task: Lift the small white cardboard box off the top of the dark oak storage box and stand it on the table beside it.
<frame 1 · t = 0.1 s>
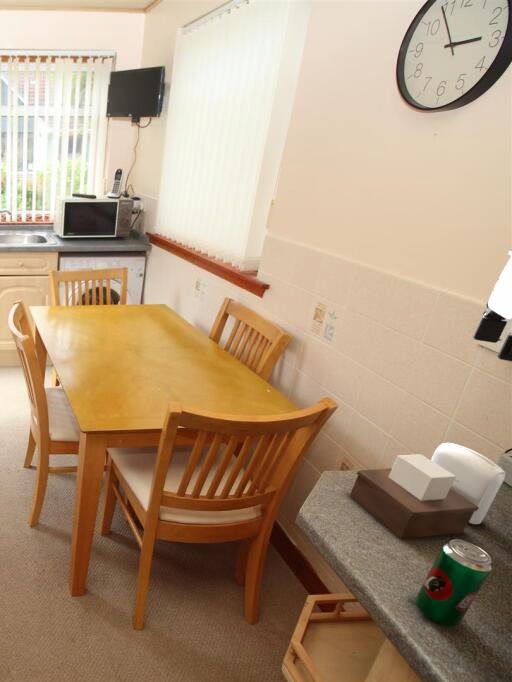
hand: (496, 350, 80), 32 cm above the countertop, tool pointing down, fingers open, 9 cm apart
soda can: (435, 614, 69), on the countertop
white box: (415, 487, 87), point 6 cm above the countertop, touching storage box
storage box: (403, 513, 89), on the countertop, touching white box
photo printer: (447, 506, 92), on the countertop
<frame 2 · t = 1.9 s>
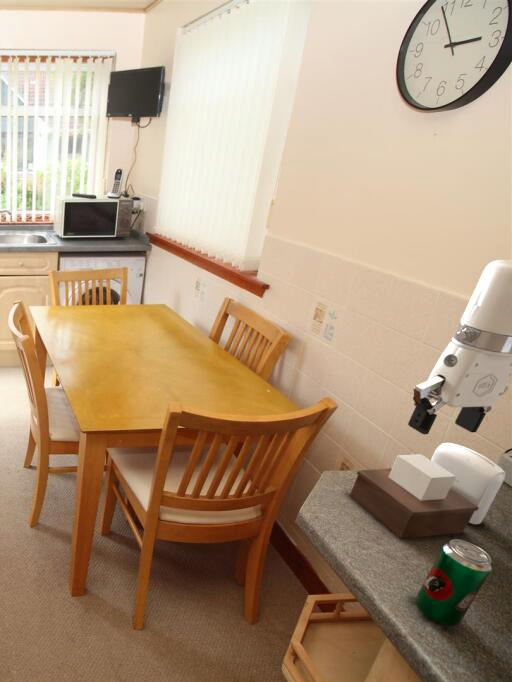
hand: (441, 429, 82), 18 cm above the countertop, tool pointing down, fingers open, 9 cm apart
nothing on the countertop moved.
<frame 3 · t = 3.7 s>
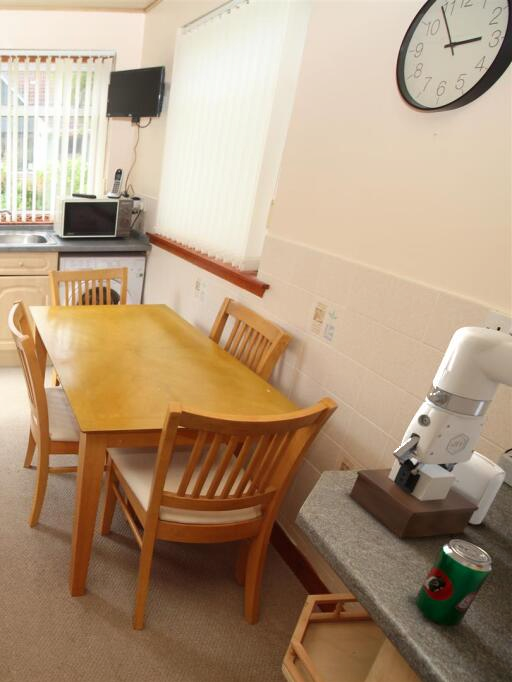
hand: (416, 485, 86), 6 cm above the countertop, tool pointing down, fingers closed on white box, 5 cm apart
white box: (415, 487, 87), point 6 cm above the countertop, touching gripper, storage box
everything else where it was.
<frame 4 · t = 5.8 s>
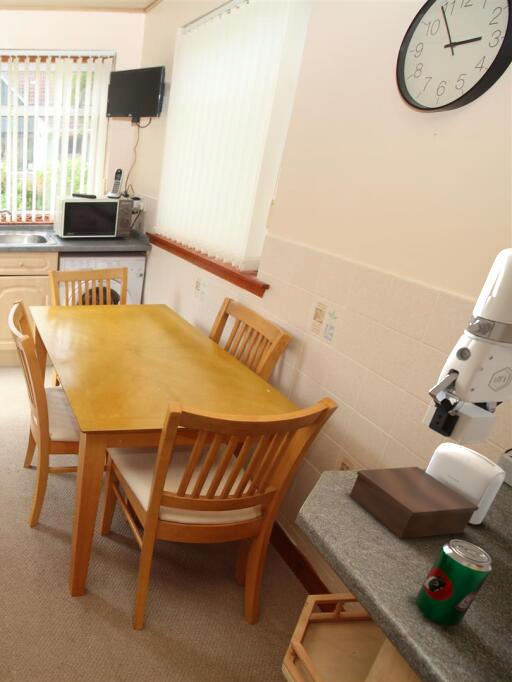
hand: (454, 430, 79), 20 cm above the countertop, tool pointing down, fingers closed on white box, 5 cm apart
white box: (452, 432, 79), point 19 cm above the countertop, touching gripper
storage box: (403, 513, 89), on the countertop
everything else where it was.
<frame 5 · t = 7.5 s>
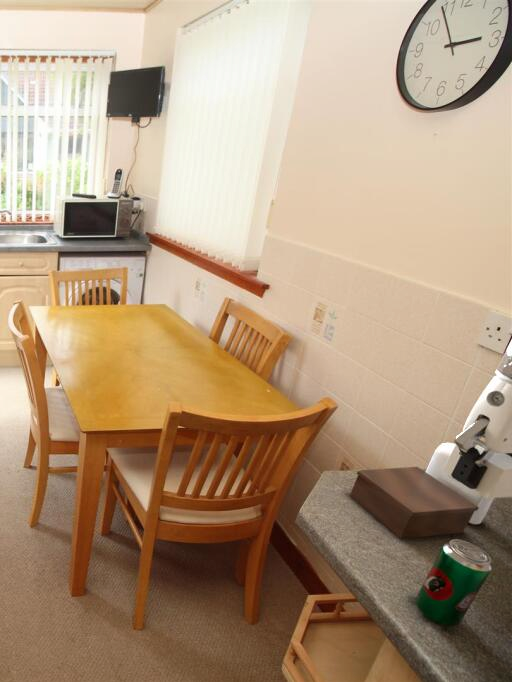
hand: (479, 480, 70), 18 cm above the countertop, tool pointing down, fingers closed on white box, 5 cm apart
white box: (478, 482, 71), point 17 cm above the countertop, touching gripper
everything else where it was.
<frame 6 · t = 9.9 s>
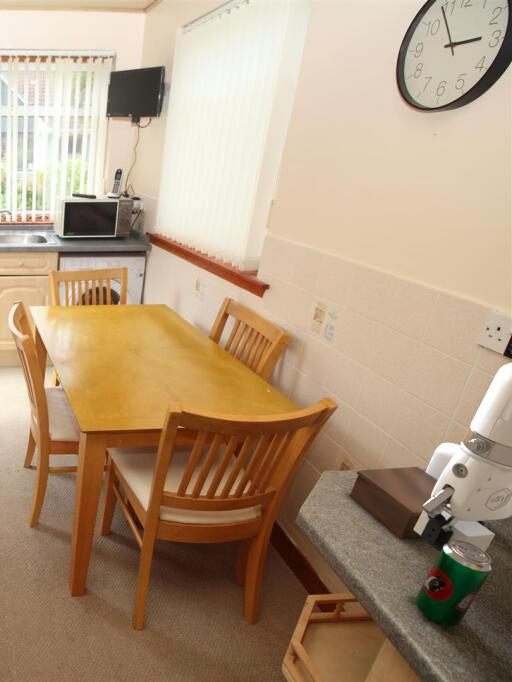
hand: (447, 542, 75), 6 cm above the countertop, tool pointing down, fingers closed on white box, 5 cm apart
white box: (445, 544, 75), point 5 cm above the countertop, touching gripper
everything else where it was.
when the fingers open (0 cm above the countertop, at t = 11.6 s): white box stays where it is, on the countertop.
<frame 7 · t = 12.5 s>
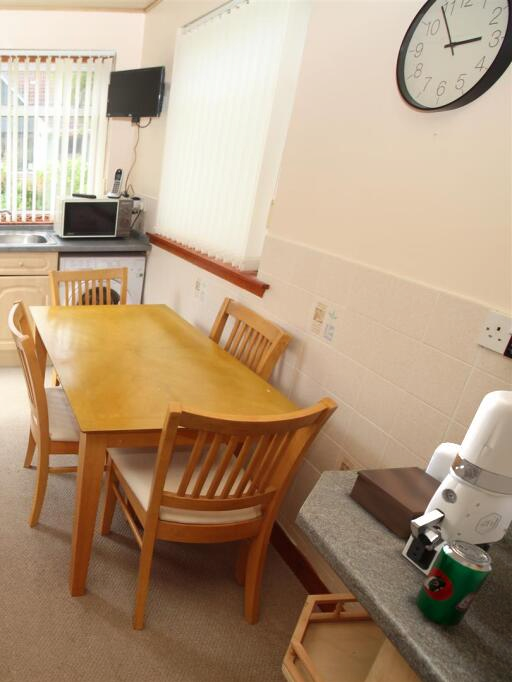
hand: (442, 560, 76), 2 cm above the countertop, tool pointing down, fingers open, 9 cm apart
white box: (433, 568, 77), on the countertop
everything else where it was.
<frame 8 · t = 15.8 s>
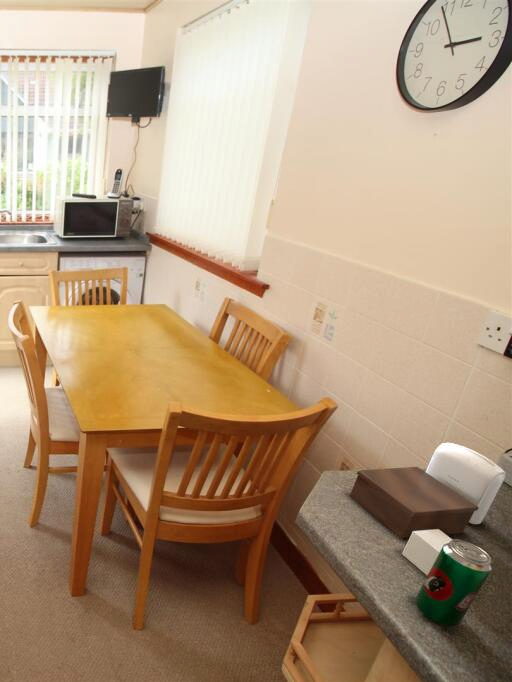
nothing on the countertop moved.
at the end: white box inside the target area (0.2 cm from its centre), on the countertop; white box touching countertop; white box tilted 0° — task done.
